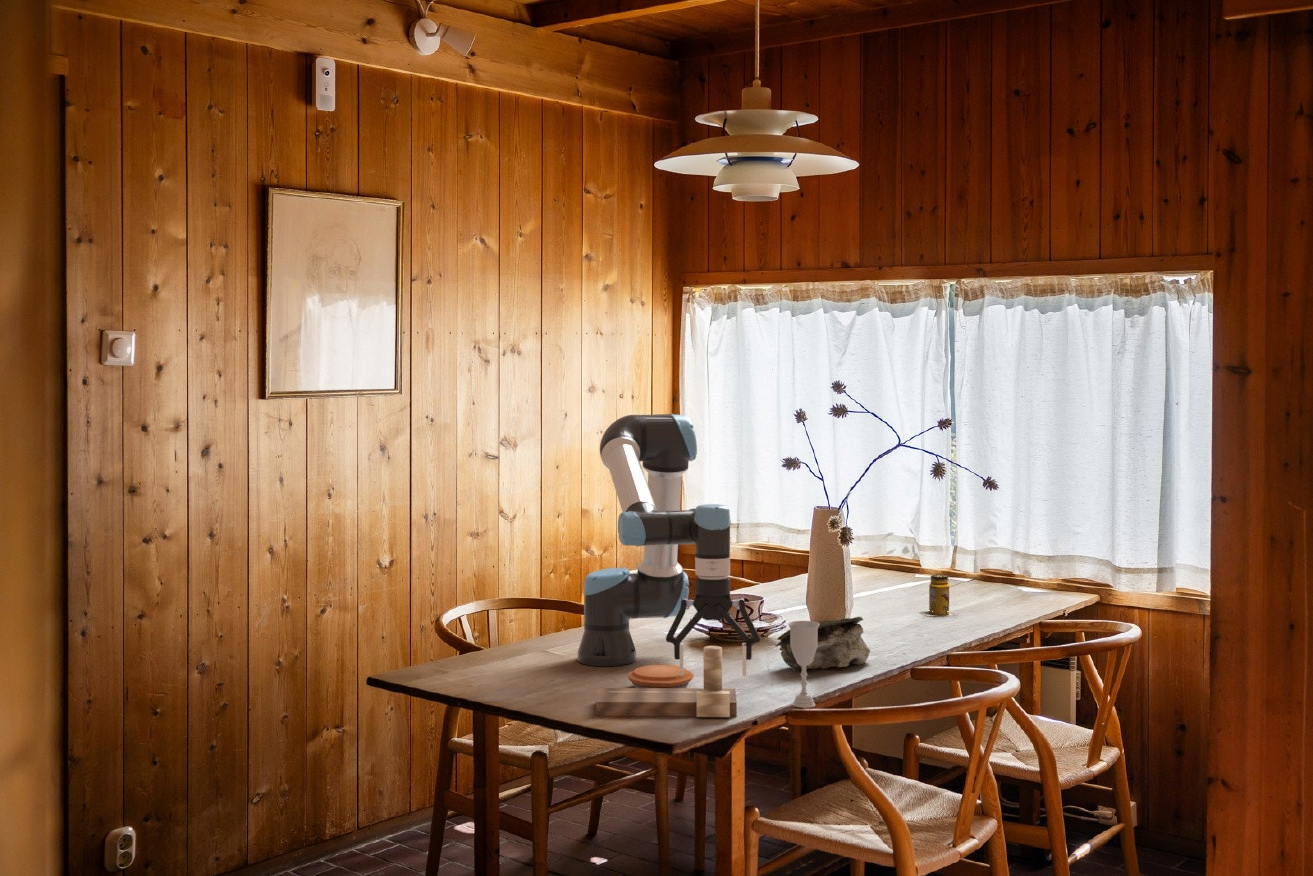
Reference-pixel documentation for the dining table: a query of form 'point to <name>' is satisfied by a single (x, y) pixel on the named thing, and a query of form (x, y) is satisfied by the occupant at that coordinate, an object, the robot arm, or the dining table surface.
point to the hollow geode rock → (831, 645)
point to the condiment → (938, 596)
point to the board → (653, 702)
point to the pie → (660, 677)
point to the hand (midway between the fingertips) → (712, 674)
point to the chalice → (803, 654)
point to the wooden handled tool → (713, 686)
